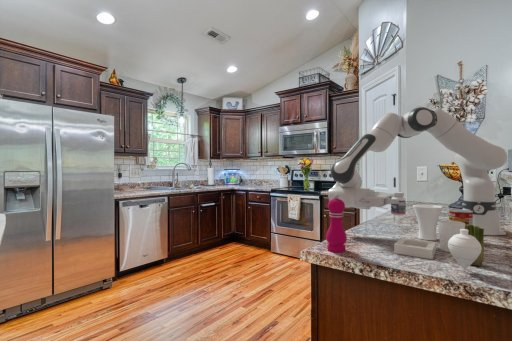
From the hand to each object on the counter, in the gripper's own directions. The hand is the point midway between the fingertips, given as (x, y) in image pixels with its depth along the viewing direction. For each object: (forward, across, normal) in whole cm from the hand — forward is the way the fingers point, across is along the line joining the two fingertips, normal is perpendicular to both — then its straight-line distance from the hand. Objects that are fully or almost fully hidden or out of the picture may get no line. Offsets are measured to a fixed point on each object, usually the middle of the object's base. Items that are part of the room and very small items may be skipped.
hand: (400, 200), depth 114 cm
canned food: (+19, +16, +16) cm, 30 cm away
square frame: (+7, -13, +16) cm, 22 cm away
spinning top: (+21, -26, +16) cm, 37 cm away
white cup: (+17, -3, +16) cm, 24 cm away
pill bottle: (-1, 0, +6) cm, 6 cm away
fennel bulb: (+23, -17, +16) cm, 33 cm away
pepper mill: (-16, -27, +16) cm, 35 cm away
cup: (+8, +11, +16) cm, 21 cm away
